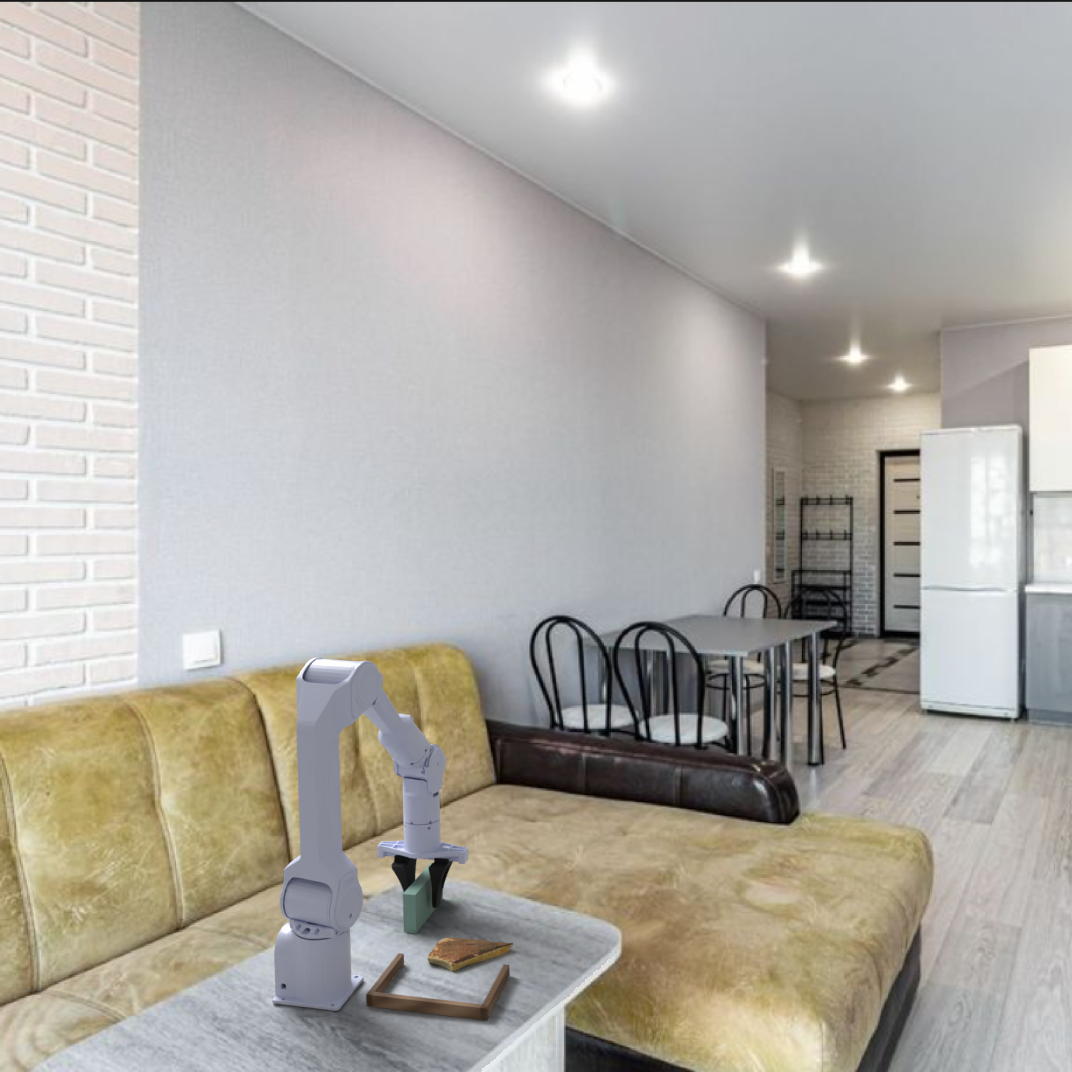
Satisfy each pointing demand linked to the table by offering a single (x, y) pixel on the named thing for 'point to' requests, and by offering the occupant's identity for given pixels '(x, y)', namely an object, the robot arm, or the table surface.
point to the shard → (465, 952)
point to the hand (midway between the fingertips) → (423, 903)
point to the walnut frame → (432, 1005)
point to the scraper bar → (418, 902)
